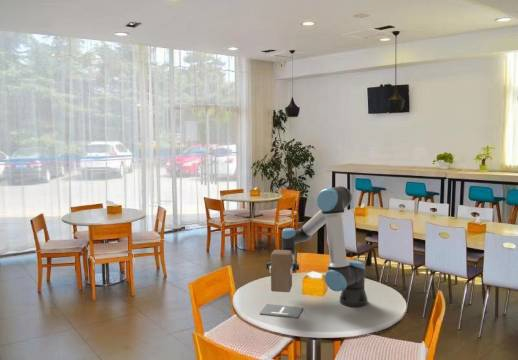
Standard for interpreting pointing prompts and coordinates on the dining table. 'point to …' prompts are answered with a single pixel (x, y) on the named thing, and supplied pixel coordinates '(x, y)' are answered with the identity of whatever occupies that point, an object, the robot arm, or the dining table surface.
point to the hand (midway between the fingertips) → (280, 271)
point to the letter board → (281, 311)
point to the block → (281, 271)
